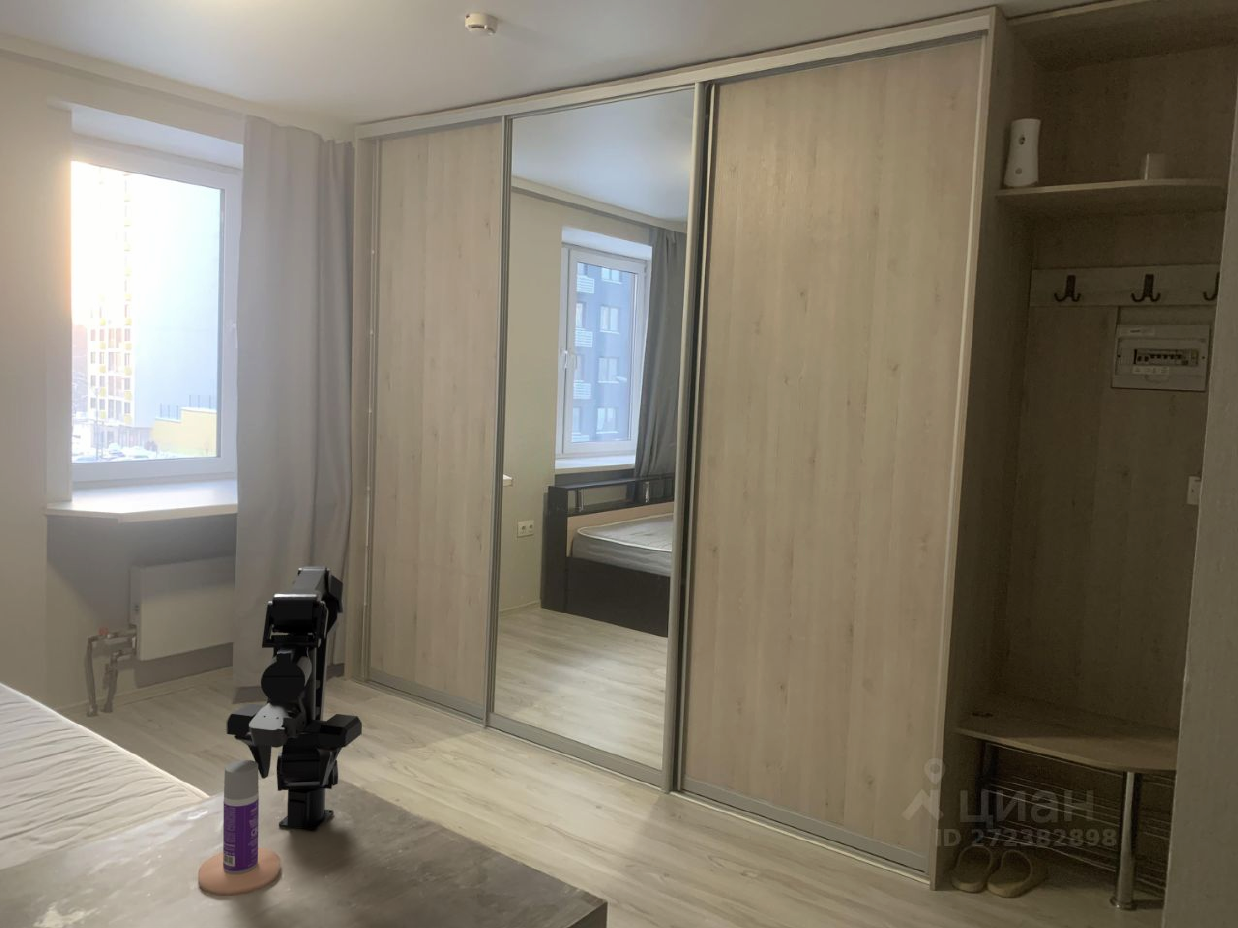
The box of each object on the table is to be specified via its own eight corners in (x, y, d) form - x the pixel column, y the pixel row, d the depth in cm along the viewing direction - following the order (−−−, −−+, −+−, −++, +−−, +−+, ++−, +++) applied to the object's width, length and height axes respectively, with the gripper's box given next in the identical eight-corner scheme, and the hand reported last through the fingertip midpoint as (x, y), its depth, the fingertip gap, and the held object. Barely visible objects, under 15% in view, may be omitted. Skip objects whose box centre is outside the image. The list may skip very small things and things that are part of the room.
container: (257, 871, 130) (258, 770, 129) (222, 876, 129) (223, 774, 127) (258, 855, 135) (259, 757, 133) (223, 859, 133) (224, 761, 132)
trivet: (228, 850, 138) (228, 842, 138) (294, 859, 136) (294, 852, 136) (181, 889, 127) (181, 880, 127) (252, 900, 125) (252, 892, 125)
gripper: (202, 689, 126) (202, 797, 127) (327, 703, 123) (325, 814, 124) (249, 665, 137) (248, 765, 138) (364, 678, 133) (362, 780, 135)
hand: (293, 781), depth 133 cm, fingers open, 9 cm apart
